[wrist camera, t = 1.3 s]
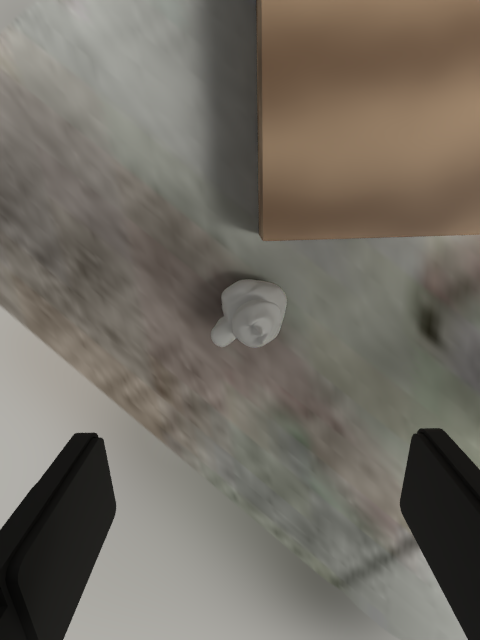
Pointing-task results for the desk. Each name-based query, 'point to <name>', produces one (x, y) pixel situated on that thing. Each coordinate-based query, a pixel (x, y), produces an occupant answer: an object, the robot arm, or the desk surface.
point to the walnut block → (368, 118)
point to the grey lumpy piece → (250, 313)
